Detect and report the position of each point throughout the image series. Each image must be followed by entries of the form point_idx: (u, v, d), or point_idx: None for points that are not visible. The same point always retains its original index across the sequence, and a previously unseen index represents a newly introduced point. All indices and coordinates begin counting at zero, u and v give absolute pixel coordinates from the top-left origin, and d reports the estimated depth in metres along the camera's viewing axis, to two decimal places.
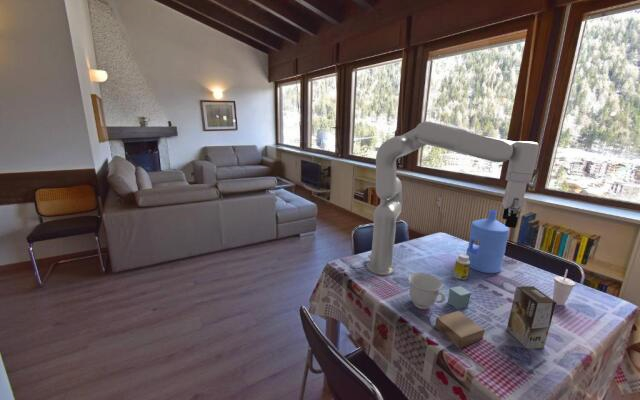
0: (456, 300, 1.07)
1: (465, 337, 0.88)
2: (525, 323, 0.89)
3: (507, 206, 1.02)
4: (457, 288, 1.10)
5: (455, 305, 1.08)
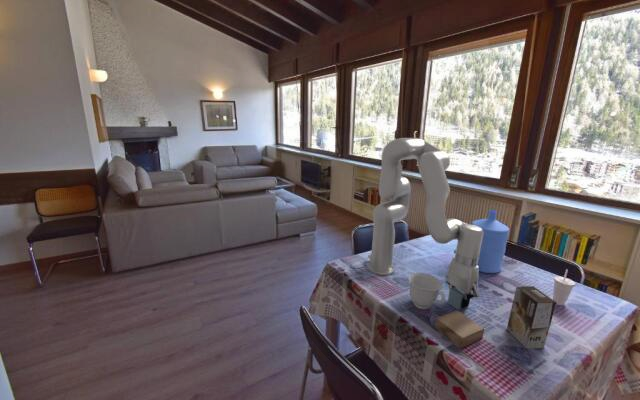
0: (456, 299, 1.07)
1: (466, 337, 0.88)
2: (525, 323, 0.89)
3: (468, 291, 1.02)
4: (457, 288, 1.10)
5: (455, 305, 1.08)
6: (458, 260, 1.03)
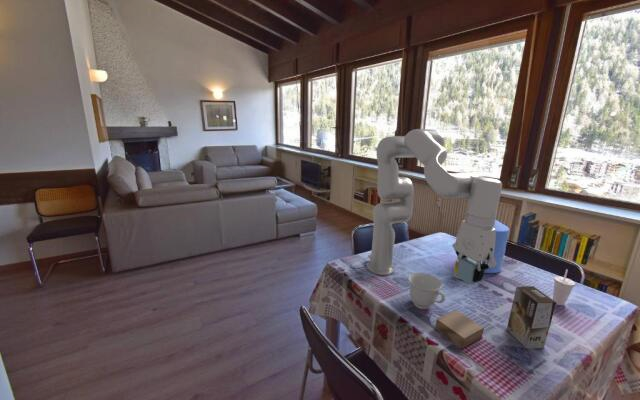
0: (467, 272, 0.87)
1: (467, 337, 0.88)
2: (525, 323, 0.89)
3: (483, 259, 0.82)
4: (468, 258, 0.89)
5: (466, 278, 0.87)
6: (470, 221, 0.83)
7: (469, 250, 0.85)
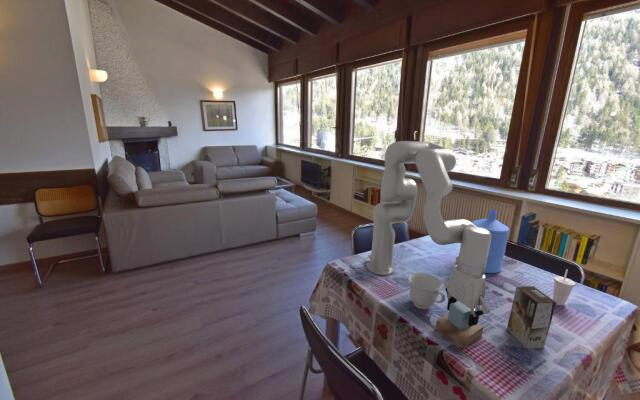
0: (457, 318, 0.91)
1: (469, 337, 0.88)
2: (525, 323, 0.89)
3: (474, 306, 0.86)
4: (459, 304, 0.94)
5: (456, 324, 0.92)
6: (461, 269, 0.87)
7: (460, 295, 0.89)
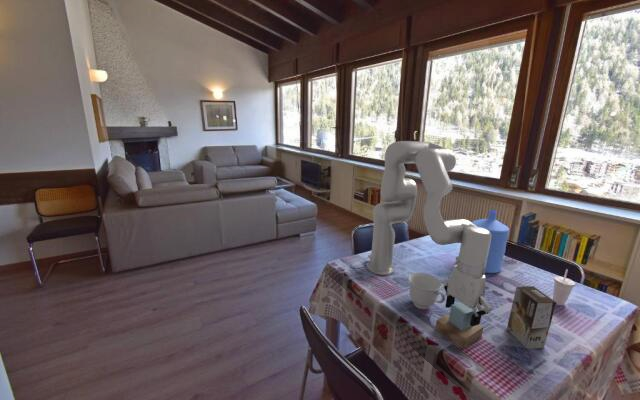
0: (458, 318, 0.91)
1: (469, 338, 0.88)
2: (525, 323, 0.89)
3: (474, 306, 0.86)
4: (460, 304, 0.94)
5: (458, 325, 0.92)
6: (461, 269, 0.87)
7: (460, 295, 0.89)
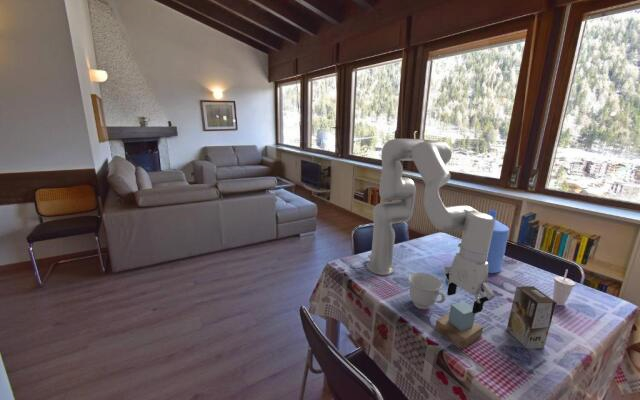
0: (458, 318, 0.91)
1: (468, 338, 0.88)
2: (525, 323, 0.89)
3: (476, 292, 0.85)
4: (460, 304, 0.93)
5: (457, 325, 0.91)
6: (464, 255, 0.86)
7: (463, 282, 0.88)
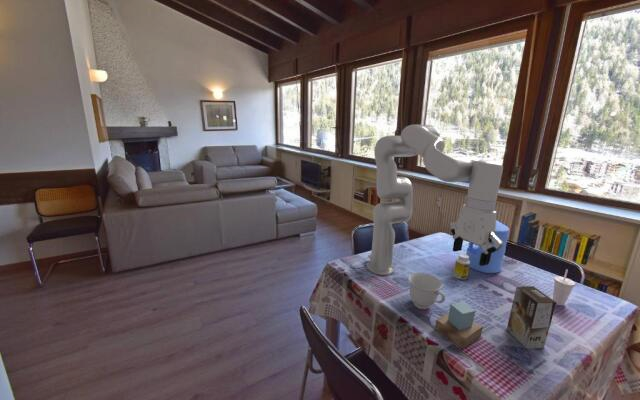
0: (457, 318, 0.91)
1: (468, 337, 0.88)
2: (525, 323, 0.89)
3: (483, 242, 0.82)
4: (459, 304, 0.93)
5: (456, 324, 0.92)
6: (470, 204, 0.83)
7: (469, 234, 0.85)
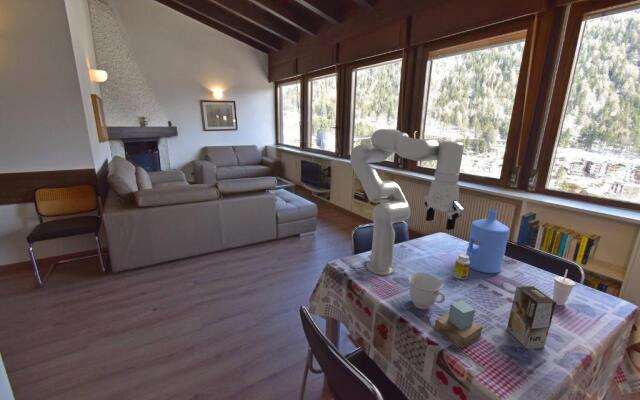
0: (458, 317, 0.91)
1: (468, 337, 0.89)
2: (525, 323, 0.89)
3: (448, 210, 0.98)
4: (459, 304, 0.94)
5: (457, 324, 0.92)
6: (438, 178, 0.99)
7: (438, 203, 1.01)
